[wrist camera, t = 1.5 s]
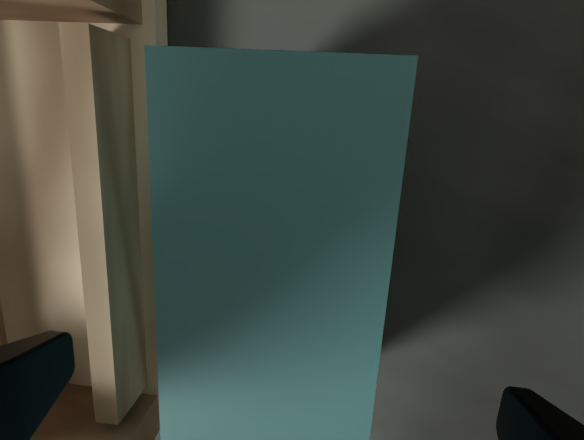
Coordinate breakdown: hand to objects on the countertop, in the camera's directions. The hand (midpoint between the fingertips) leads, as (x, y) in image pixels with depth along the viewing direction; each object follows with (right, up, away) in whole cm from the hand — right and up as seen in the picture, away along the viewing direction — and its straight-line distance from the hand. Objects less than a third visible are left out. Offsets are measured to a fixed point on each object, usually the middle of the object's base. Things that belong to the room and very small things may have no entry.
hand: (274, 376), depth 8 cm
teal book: (+1, +2, +9) cm, 9 cm away
